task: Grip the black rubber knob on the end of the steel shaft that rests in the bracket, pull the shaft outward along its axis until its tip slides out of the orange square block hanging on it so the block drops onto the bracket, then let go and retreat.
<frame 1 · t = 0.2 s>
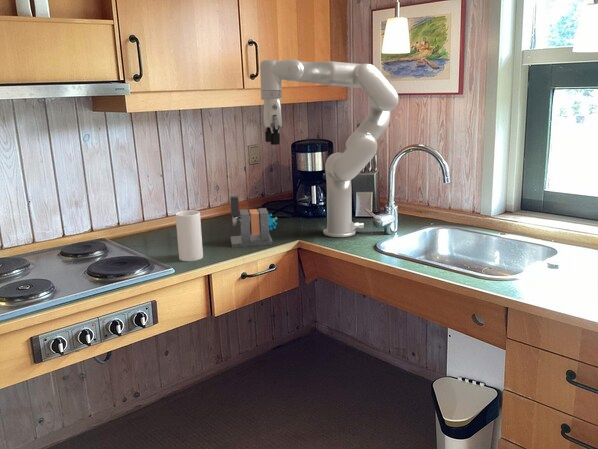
hand: (272, 143, 204), 36 cm above the worktop, tool pointing down, fingers open, 9 cm apart
blue spiky toy: (267, 229, 227), on the worktop
bracket: (251, 242, 208), on the worktop
orange square block: (254, 222, 207), point 8 cm above the worktop, touching shaft
shaft: (247, 210, 205), point 13 cm above the worktop, slide at 0.0 cm, touching orange square block
cup: (191, 258, 193), on the worktop
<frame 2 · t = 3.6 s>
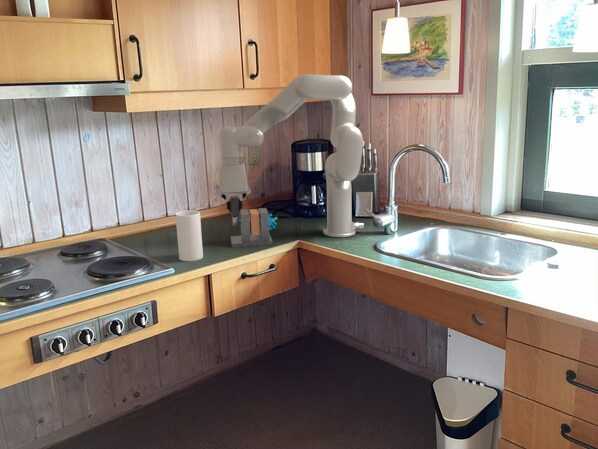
hand: (234, 210, 204), 13 cm above the worktop, tool pointing down, fingers closed on shaft, 2 cm apart
shaft: (247, 210, 205), point 13 cm above the worktop, slide at 0.0 cm, touching gripper, orange square block
everything else where it was.
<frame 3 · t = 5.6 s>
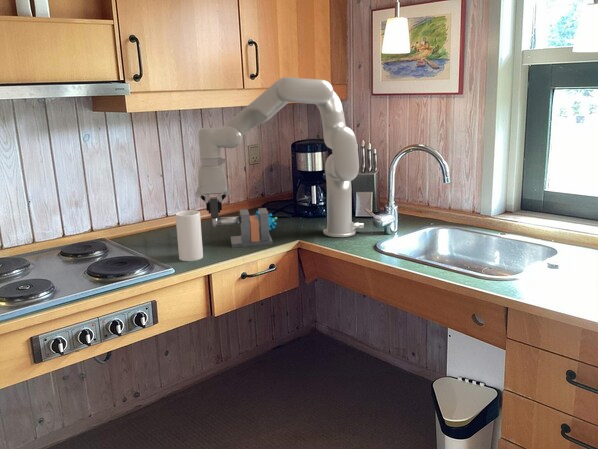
hand: (214, 211, 203), 13 cm above the worktop, tool pointing down, fingers closed on shaft, 2 cm apart
orange square block: (253, 228, 207), point 5 cm above the worktop, touching bracket
shaft: (227, 211, 204), point 13 cm above the worktop, slide at 7.5 cm, touching gripper
everything else where it was.
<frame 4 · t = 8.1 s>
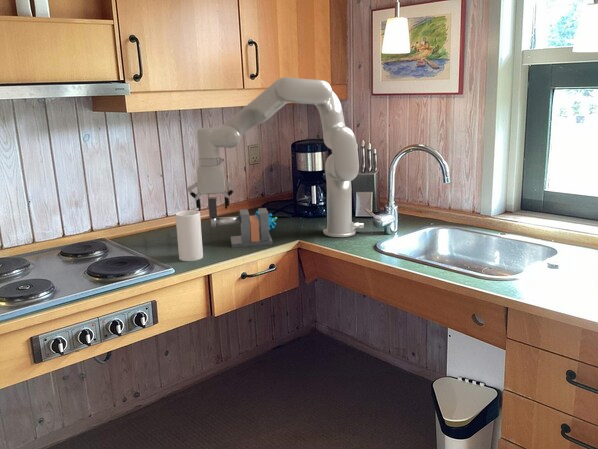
hand: (213, 208, 203), 14 cm above the worktop, tool pointing down, fingers open, 9 cm apart
shaft: (226, 211, 204), point 13 cm above the worktop, slide at 8.0 cm
everything else where it was.
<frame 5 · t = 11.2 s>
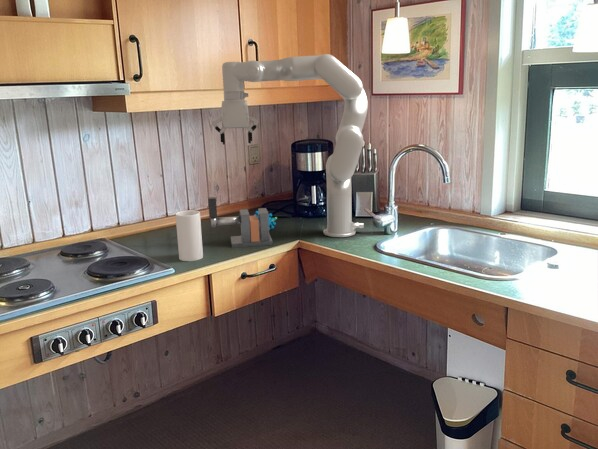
hand: (236, 143, 207), 36 cm above the worktop, tool pointing down, fingers open, 9 cm apart
at the end: shaft slide at 8.0 cm; orange square block inside the target area (0.7 cm from its centre), point 5.5 cm above the worktop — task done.
